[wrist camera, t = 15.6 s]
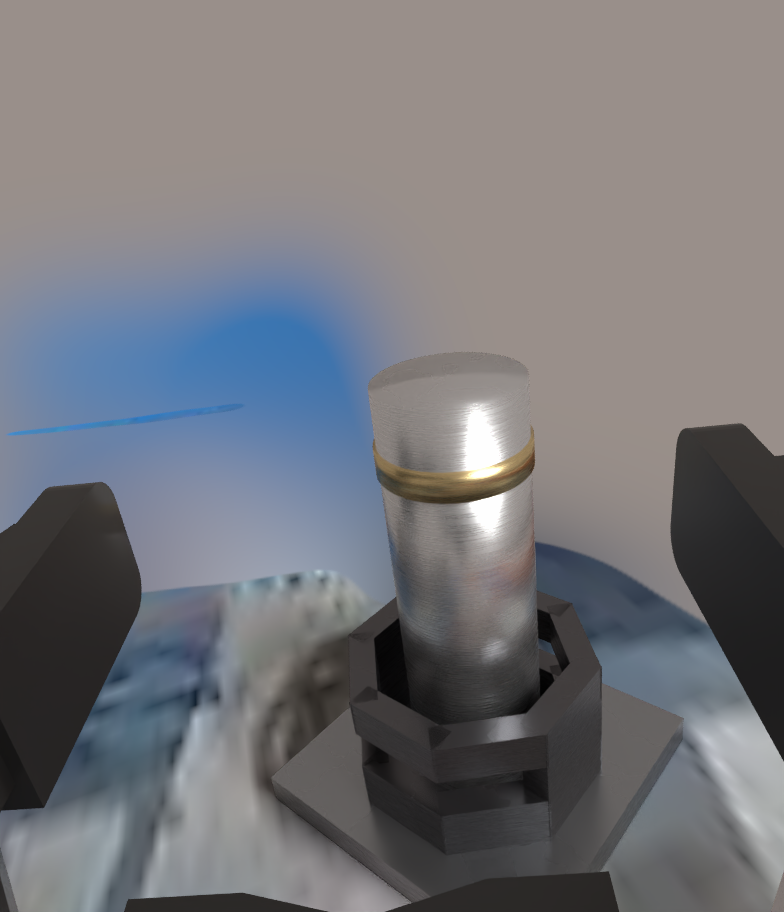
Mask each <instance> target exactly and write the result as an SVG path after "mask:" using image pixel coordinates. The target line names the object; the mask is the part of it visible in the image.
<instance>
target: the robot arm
mask: <svg viewBox="0 0 784 912" xmlns="http://www.w3.org/2000/svg"><path fill="white" fill-rule="evenodd" d="M671 543H672V549H673V554H674V558H675V561H676V564H677V567H678V569H679V572H680V573H681V575H682V577H683V579H684V581H685V583H686V585H687V586H688V588H689V590H690V591H691V594H692V595H693V597H694V599H695V601H696V603H697V604H698V606H699V608H700V610H701V612H702V614H703V615H704V617H705V619H706V621H707V623H708V625H709V626H710V628H711V630H712V632H713V634H714V635H715V637H716V639H717V641H718V643H719V645H720V646H721V648H722V650H723V652H724V654H725V655H726V657H727V659H728V661H729V663H730V665H731V666H732V668H733V670H734V672H735V674H736V675H737V677H738V679H739V681H740V683H741V685H742V686H743V688H744V690H745V692H746V694H747V695H748V697H749V699H750V701H751V703H752V705H753V706H754V708H755V710H756V712H757V714H758V715H759V717H760V719H761V721H762V723H763V725H764V726H765V728H766V730H767V732H768V734H769V735H770V737H771V739H772V741H773V743H774V745H775V746H776V748H777V750H778V752H779V754H780V755H781V757H782V759H783V761H784V455H782V456H774V455H773V454H772V453H771V452H770V451H769V450H768V449H767V448H766V447H765V446H764V445H763V444H762V443H761V442H760V441H759V440H758V439H757V438H756V436H755V435H754V434H753V433H752V432H751V431H750V430H749V429H748V428H747V427H746V426H744V425H743V424H728V425H717V426H707V427H696V428H685V429H683V430H682V431H681V432H680V434H679V437H678V441H677V447H676V460H675V473H674V486H673V500H672V514H671ZM140 602H141V578H140V573H139V569H138V566H137V563H136V560H135V557H134V554H133V551H132V548H131V545H130V542H129V539H128V536H127V533H126V530H125V527H124V524H123V521H122V518H121V514H120V511H119V508H118V505H117V502H116V499H115V497H114V494H113V493H112V491H111V489H110V488H109V486H107V485H106V484H105V483H103V482H97V483H86V484H75V485H64V486H54V487H49V488H47V489H45V490H44V491H43V492H42V494H41V495H40V496H39V497H38V498H37V500H36V501H35V502H34V503H33V504H32V506H31V507H30V508H29V509H28V510H27V511H26V513H25V514H24V515H23V516H22V517H21V519H20V520H19V521H18V522H17V523H16V524H13V525H12V526H10V527H9V528H8V529H6V530H5V531H3V532H2V533H0V812H1V811H2V810H17V809H32V808H44V807H45V805H46V803H47V800H48V798H49V796H50V794H51V792H52V790H53V788H54V786H55V784H56V782H57V780H58V778H59V776H60V774H61V771H62V769H63V767H64V765H65V763H66V761H67V759H68V757H69V755H70V753H71V751H72V749H73V747H74V745H75V742H76V740H77V738H78V736H79V734H80V732H81V730H82V728H83V726H84V724H85V722H86V720H87V718H88V716H89V713H90V711H91V709H92V707H93V705H94V703H95V701H96V699H97V697H98V695H99V693H100V691H101V689H102V687H103V684H104V682H105V680H106V678H107V676H108V674H109V672H110V670H111V668H112V666H113V664H114V662H115V660H116V657H117V655H118V653H119V651H120V649H121V647H122V645H123V643H124V641H125V639H126V637H127V635H128V633H129V631H130V628H131V626H132V624H133V622H134V620H135V618H136V616H137V614H138V611H139V607H140ZM0 912H18V908H17V905H16V901H15V898H14V894H13V891H12V887H11V884H10V880H9V877H8V873H7V870H6V866H5V863H4V859H3V856H2V852H1V849H0ZM124 912H327V911H322V910H318V909H313V908H309V907H304V906H300V905H295V904H291V903H286V902H282V901H277V900H273V899H268V898H264V897H259V896H255V895H250V894H246V893H230V894H213V895H196V896H179V897H161V898H144V899H128V901H127V904H126V907H125V911H124ZM386 912H619V909H618V905H617V902H616V898H615V894H614V890H613V886H612V882H611V878H610V874H609V872H592V873H575V874H558V875H541V876H523V877H506V878H489V879H484V880H481V881H478V882H475V883H472V884H469V885H466V886H463V887H460V888H457V889H454V890H451V891H447V892H444V893H441V894H438V895H435V896H432V897H429V898H426V899H423V900H420V901H417V902H414V903H411V904H408V905H404V906H401V907H398V908H395V909H392V910H389V911H386ZM771 912H784V873H783V876H782V879H781V882H780V885H779V888H778V891H777V894H776V897H775V900H774V903H773V907H772V910H771Z"/></svg>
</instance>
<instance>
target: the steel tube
mask: <svg viewBox="0 0 784 912" xmlns="http://www.w3.org/2000/svg"><path fill="white" fill-rule="evenodd" d="M368 393H369V401H370V408H371V415H372V423H373V430H374V437H375V438H374V441H373V453H374V460H375V467H376V475H377V478H378V481H379V482H380V484H381V488H382V496H383V503H384V511H385V518H386V525H387V533H388V539H389V547H390V554H391V561H392V568H393V576H394V584H395V591H396V599H397V606H398V613H399V621H400V628H401V635H402V643H403V650H404V657H405V665H406V672H407V679H408V687H409V694H410V701H411V709H412V710H413V711H415V712H417V713H419V714H421V715H422V716H424V717H426V718H428V719H430V720H431V721H433V722H435V723H437V724H439V725H440V726H443V725H450V724H457V723H464V722H471V721H478V720H485V719H492V718H499V717H506V716H513V715H520V714H527V713H528V711H529V710H530V709H531V708H532V707H533V706H534V704H535V703H536V702H537V701H538V700H539V699H540V678H539V650H538V622H537V594H536V566H535V540H534V539H535V538H534V510H533V481H532V471H533V469H534V466H535V450H534V430H533V428H532V426H531V424H530V397H529V374H528V370H527V368H526V367H525V366H524V365H523V364H521V363H520V362H518V361H516V360H514V359H511V358H508V357H505V356H501V355H495V354H488V353H476V352H456V353H444V354H435V355H429V356H424V357H419V358H415V359H410V360H407V361H404V362H401V363H398V364H395V365H393V366H391V367H388V368H386V369H384V370H383V371H381V372H379V373H378V374H377V375H376V376H374V377H373V378H372V379H371V381H370V382H369V385H368ZM518 780H523V771H521V772H514V773H507V774H500V775H493V776H486V777H479V778H472V779H465V780H458V781H451V782H445V783H438V784H440V785H441V786H443V787H445V788H446V789H448V790H455V789H462V788H469V787H476V786H483V785H490V784H497V783H504V782H511V781H518Z"/></svg>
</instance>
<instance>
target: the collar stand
mask: <svg viewBox="0 0 784 912" xmlns="http://www.w3.org/2000/svg"><path fill="white" fill-rule="evenodd" d="M536 594H537V622H538V638H540V639H542V640H545V641H547V642H549V643H551V645H552V648H553V650H554V653H555V655H556V656H555V655H553V654H550V653H548V652H545V651H543V650H541V649H538V650H539V678H540V699H539V700H538V701H537V702H536V703H535V704H534V706H533V707H532V708H531V709H530V710H529V711H528V713H527V714H520V715H513V716H506V717H499V718H492V719H485V720H478V721H471V722H464V723H457V724H450V725H443V726H440V725H439V724H437V723H435V722H433V721H431V720H430V719H428V718H426V717H424V716H422V715H421V714H419V713H417V712H415V711H413V710H412V709H411V701H410V694H409V687H408V679H407V672H406V665H405V657H404V650H403V643H402V635H401V628H400V621H399V613H398V606H397V599H396V597H395V598H394V599H393V600H392V601H390V602H389V603H388V604H387V605H385V606H384V607H383V608H382V609H380V610H379V611H378V612H377V613H375V614H374V615H373V616H372V617H370V618H369V619H368V620H367V621H366V622H364V623H363V624H362V625H361V626H359V627H358V628H357V629H356V630H354V631H353V632H352V633H351V634H349V635H348V638H349V678H350V702H349V704H350V707H349V708H348V709H347V710H346V711H344V712H343V713H342V714H341V715H340V716H339V717H338V718H337V719H336V720H334V721H333V722H332V723H331V724H330V725H329V726H328V727H327V728H325V729H324V730H323V731H322V732H321V733H320V734H319V735H318V736H317V737H315V738H314V739H313V740H312V741H311V742H310V743H309V744H308V745H306V746H305V747H304V748H303V749H302V750H301V751H300V752H299V753H298V754H296V755H295V756H294V757H293V758H292V759H291V760H290V761H289V762H287V763H286V764H285V765H284V766H283V767H282V768H281V769H280V770H279V771H277V772H276V773H275V774H274V775H273V776H272V777H271V780H272V784H273V787H274V791H275V795H276V798H277V799H278V800H280V801H281V802H282V803H284V804H285V805H286V806H288V807H289V808H290V809H292V810H293V811H294V812H295V813H297V814H298V815H299V816H301V817H302V818H303V819H305V820H306V821H307V822H309V823H310V824H311V825H312V826H314V827H315V828H316V829H318V830H319V831H320V832H322V833H323V834H324V835H326V836H327V837H328V838H329V839H331V840H332V841H333V842H335V843H336V844H337V845H339V846H340V847H341V848H342V849H344V850H345V851H346V852H348V853H349V854H350V855H352V856H353V857H354V858H356V859H357V860H358V861H359V862H361V863H362V864H363V865H365V866H366V867H367V868H369V869H370V870H371V871H373V872H374V873H375V874H376V875H378V876H379V877H380V878H382V879H383V880H384V881H386V882H387V883H388V884H390V885H391V886H392V887H393V888H395V889H396V890H397V891H399V892H400V893H401V894H403V895H404V896H405V897H407V898H408V899H409V900H410V901H412V902H413V903H414V902H417V901H420V900H423V899H426V898H429V897H432V896H435V895H438V894H441V893H444V892H447V891H451V890H454V889H457V888H460V887H463V886H466V885H469V884H472V883H475V882H478V881H481V880H484V879H489V878H506V877H523V876H541V875H558V874H575V873H592V872H600V871H601V869H602V867H603V866H604V864H605V863H606V861H607V859H608V858H609V856H610V855H611V853H612V851H613V850H614V848H615V847H616V845H617V843H618V842H619V840H620V839H621V837H622V835H623V834H624V832H625V831H626V829H627V827H628V826H629V824H630V823H631V821H632V819H633V818H634V816H635V815H636V813H637V811H638V810H639V808H640V807H641V805H642V803H643V802H644V800H645V799H646V797H647V795H648V794H649V792H650V791H651V789H652V787H653V786H654V784H655V783H656V781H657V779H658V778H659V776H660V775H661V773H662V771H663V770H664V768H665V767H666V765H667V763H668V762H669V760H670V759H671V757H672V755H673V754H674V752H675V751H676V749H677V747H678V746H679V744H680V743H681V741H682V737H683V721H684V718H682V717H679V716H677V715H675V714H672V713H670V712H668V711H665V710H663V709H661V708H658V707H656V706H654V705H651V704H649V703H647V702H644V701H642V700H640V699H638V698H635V697H633V696H631V695H628V694H626V693H624V692H621V691H619V690H617V689H614V688H612V687H610V686H607V685H605V684H603V683H602V666H600V663H599V661H598V659H597V657H596V655H595V653H594V651H593V648H592V646H591V644H590V642H589V640H588V638H587V636H586V633H585V631H584V629H583V627H582V625H581V623H580V620H579V618H578V616H577V614H576V612H575V610H574V608H573V605H572V603H569V602H567V601H564V600H561V599H558V598H556V597H553V596H550V595H547V594H545V593H542V592H539V591H537V590H536ZM521 771H523V780H518V781H511V782H504V783H497V784H490V785H483V786H476V787H469V788H462V789H455V790H448V789H446V788H445V787H443V786H441V785H440V784H438V783H445V782H451V781H458V780H465V779H472V778H479V777H486V776H493V775H500V774H507V773H514V772H521Z"/></svg>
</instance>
